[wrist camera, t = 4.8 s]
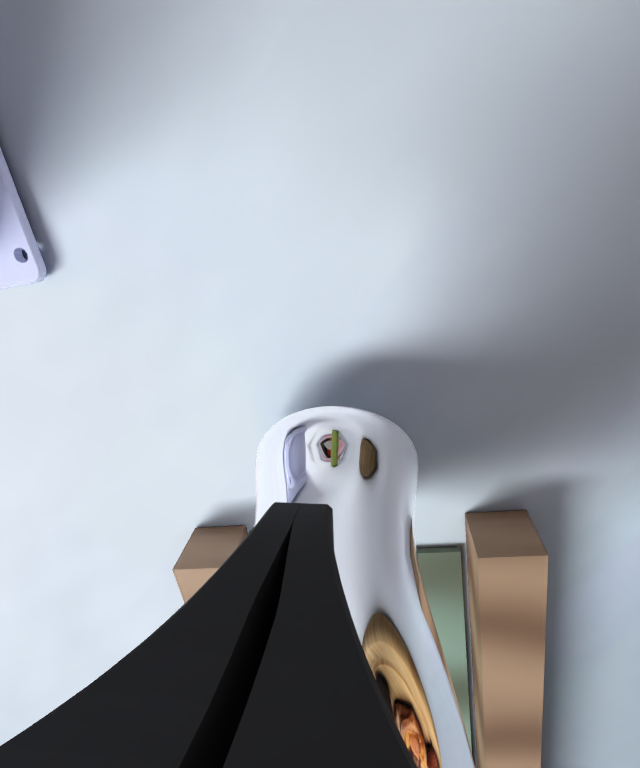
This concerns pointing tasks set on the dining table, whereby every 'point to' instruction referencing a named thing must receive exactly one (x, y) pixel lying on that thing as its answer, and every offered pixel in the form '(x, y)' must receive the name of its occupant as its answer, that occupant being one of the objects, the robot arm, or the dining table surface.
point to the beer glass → (373, 560)
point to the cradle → (462, 623)
